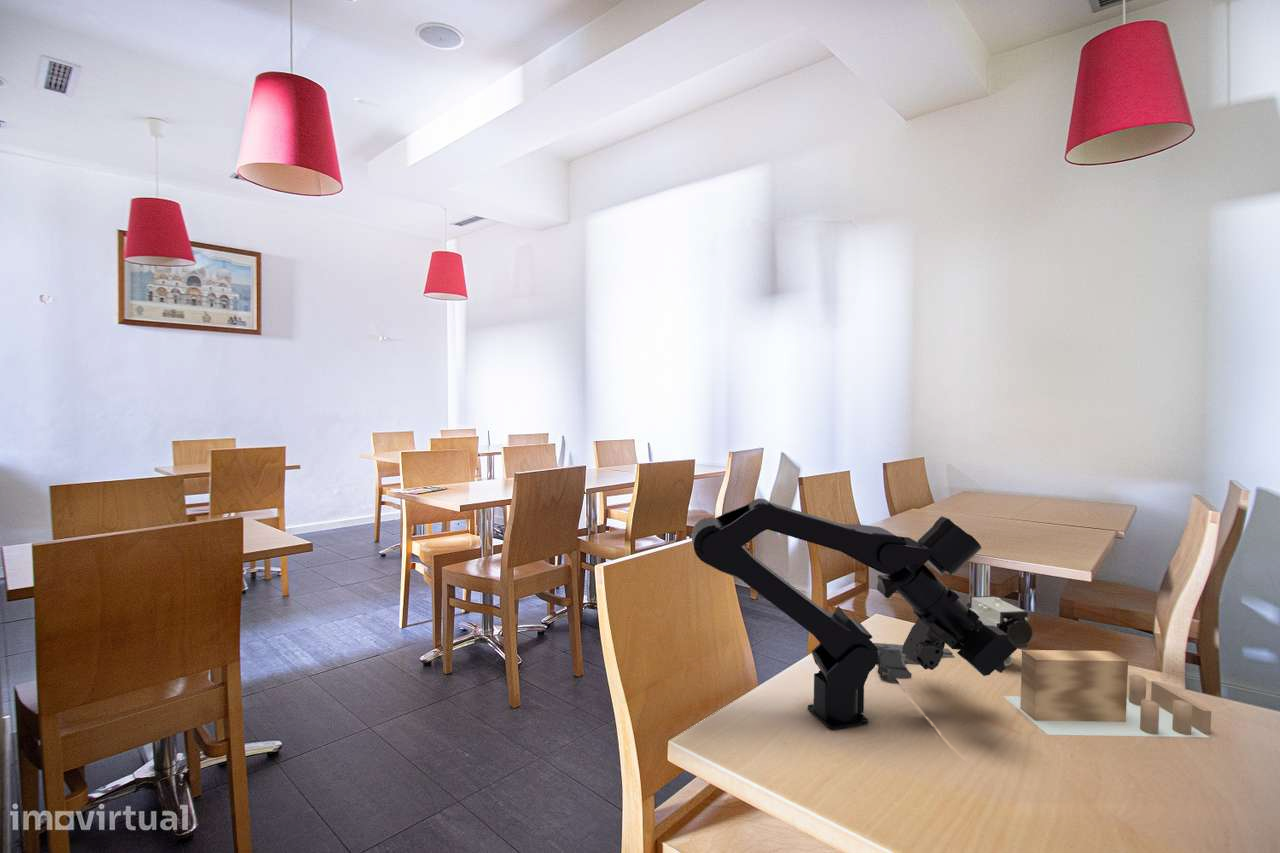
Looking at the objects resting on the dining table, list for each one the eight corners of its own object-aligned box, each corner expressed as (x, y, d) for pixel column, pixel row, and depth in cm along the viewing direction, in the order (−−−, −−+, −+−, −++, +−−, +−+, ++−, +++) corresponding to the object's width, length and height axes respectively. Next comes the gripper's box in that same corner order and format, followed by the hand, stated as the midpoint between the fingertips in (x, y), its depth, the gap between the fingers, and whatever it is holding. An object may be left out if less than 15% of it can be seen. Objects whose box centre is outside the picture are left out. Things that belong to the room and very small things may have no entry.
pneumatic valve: (986, 649, 115) (988, 587, 115) (1032, 677, 104) (1034, 608, 103) (959, 651, 115) (960, 588, 114) (1002, 679, 103) (1004, 609, 103)
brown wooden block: (1034, 720, 88) (1036, 659, 88) (1020, 708, 92) (1022, 649, 92) (1125, 721, 88) (1128, 661, 88) (1107, 709, 92) (1110, 651, 91)
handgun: (981, 673, 101) (947, 643, 113) (883, 666, 102) (859, 637, 114) (980, 692, 101) (945, 659, 113) (881, 685, 102) (857, 653, 114)
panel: (1047, 740, 85) (1048, 706, 85) (1002, 701, 96) (1003, 671, 95) (1216, 742, 84) (1218, 709, 84) (1152, 703, 95) (1153, 673, 95)
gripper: (866, 611, 100) (933, 678, 100) (915, 660, 81) (997, 742, 81) (916, 564, 99) (983, 631, 99) (976, 602, 80) (1059, 685, 81)
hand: (1001, 669), depth 90 cm, fingers closed
